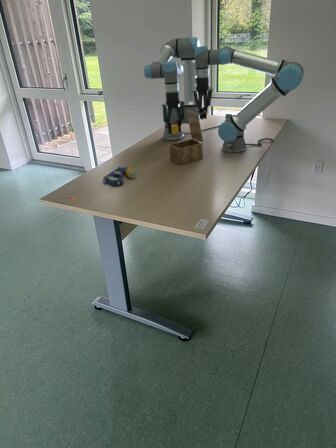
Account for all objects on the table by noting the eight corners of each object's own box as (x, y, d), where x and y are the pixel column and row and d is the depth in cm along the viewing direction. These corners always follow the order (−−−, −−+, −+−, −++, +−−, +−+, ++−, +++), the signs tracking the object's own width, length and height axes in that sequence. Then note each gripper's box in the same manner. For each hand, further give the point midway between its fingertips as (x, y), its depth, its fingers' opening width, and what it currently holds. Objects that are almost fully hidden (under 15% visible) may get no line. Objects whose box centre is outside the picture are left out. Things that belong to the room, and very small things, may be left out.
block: (171, 134, 199) (171, 126, 197) (170, 132, 203) (170, 125, 200) (178, 133, 199) (178, 126, 197) (177, 131, 203) (177, 124, 201)
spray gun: (141, 172, 194) (120, 170, 201) (140, 166, 192) (119, 164, 199) (122, 188, 179) (100, 185, 185) (121, 181, 177) (98, 178, 183)
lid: (196, 114, 192) (208, 108, 194) (186, 110, 201) (198, 105, 203) (201, 142, 202) (213, 137, 204) (191, 138, 211) (203, 132, 213)
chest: (179, 164, 202) (178, 149, 197) (170, 159, 211) (169, 144, 205) (202, 158, 208) (202, 143, 203) (193, 153, 217) (192, 138, 211)
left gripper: (160, 94, 183) (163, 136, 195) (189, 89, 189) (191, 130, 201) (154, 93, 189) (158, 134, 201) (183, 88, 195) (185, 128, 207)
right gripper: (194, 79, 184) (196, 122, 196) (216, 75, 189) (216, 117, 202) (187, 78, 190) (189, 119, 202) (209, 74, 195) (210, 115, 207)
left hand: (174, 132), depth 201 cm, fingers closed on block, 5 cm apart
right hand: (203, 118), depth 202 cm, fingers closed on lid, 2 cm apart
